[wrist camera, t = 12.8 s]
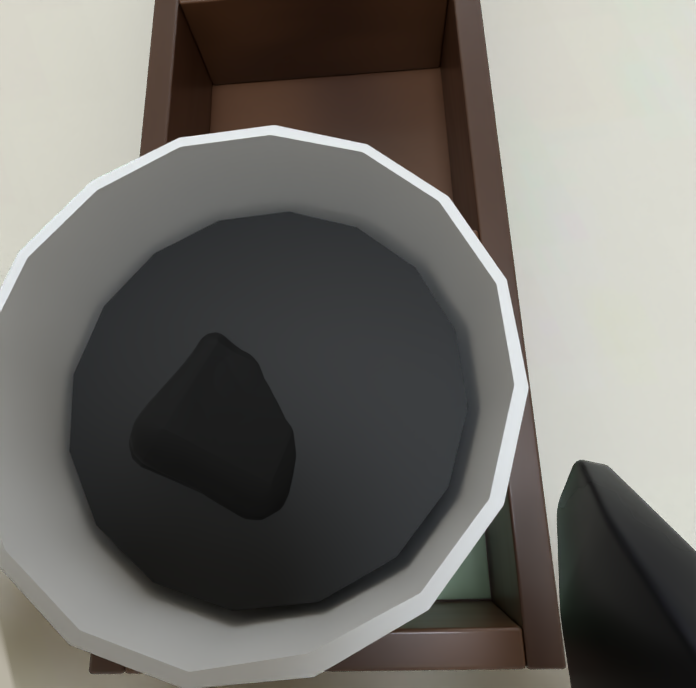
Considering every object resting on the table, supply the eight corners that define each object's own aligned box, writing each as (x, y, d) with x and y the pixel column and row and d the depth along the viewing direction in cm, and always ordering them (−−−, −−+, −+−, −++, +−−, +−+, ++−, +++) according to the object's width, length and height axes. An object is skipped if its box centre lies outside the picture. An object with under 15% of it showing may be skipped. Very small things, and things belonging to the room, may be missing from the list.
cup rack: (163, 632, 15) (86, 675, 12) (209, -89, 24) (174, -207, 20) (520, 626, 15) (567, 669, 11) (439, -112, 23) (450, -237, 19)
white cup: (377, 620, 14) (355, 843, 5) (174, 499, 16) (-157, 488, 6) (480, 402, 16) (617, 245, 6) (286, 308, 17) (159, 60, 8)
